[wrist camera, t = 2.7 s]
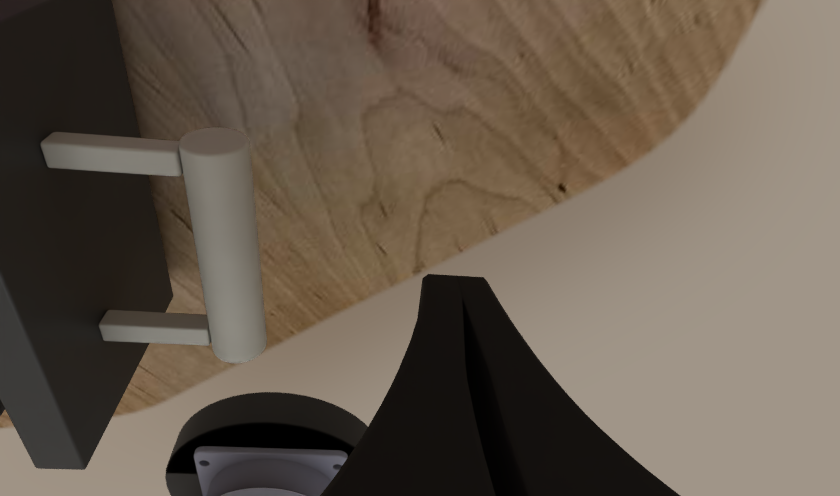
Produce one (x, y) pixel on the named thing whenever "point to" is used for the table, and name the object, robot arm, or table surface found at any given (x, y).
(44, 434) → the drawer
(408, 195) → the table surface
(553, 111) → the table surface
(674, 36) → the table surface
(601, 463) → the robot arm
